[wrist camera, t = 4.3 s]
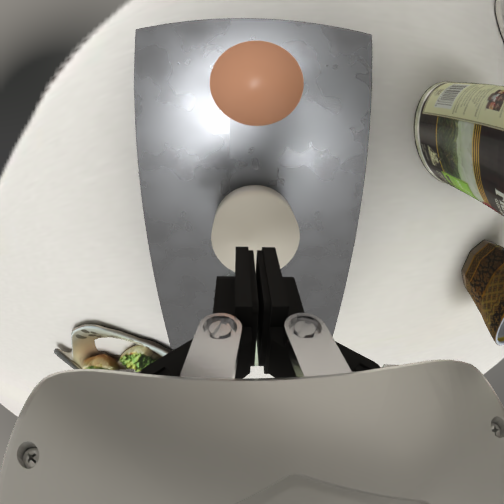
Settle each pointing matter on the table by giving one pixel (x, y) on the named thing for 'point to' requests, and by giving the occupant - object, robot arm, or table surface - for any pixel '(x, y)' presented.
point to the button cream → (254, 225)
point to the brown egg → (256, 83)
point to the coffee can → (464, 138)
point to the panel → (249, 158)
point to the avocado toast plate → (91, 358)
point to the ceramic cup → (487, 285)
